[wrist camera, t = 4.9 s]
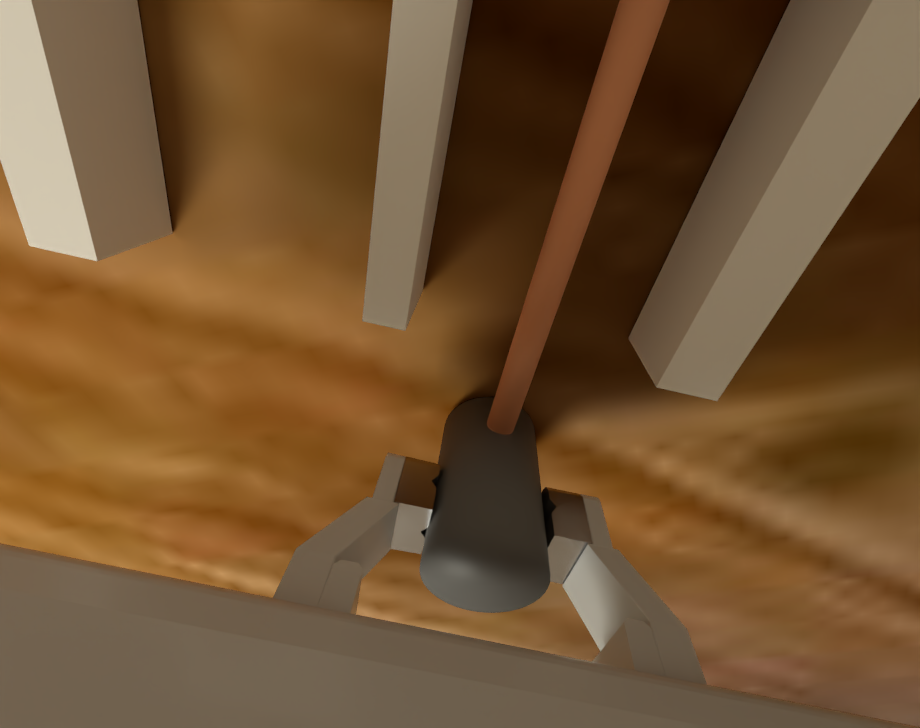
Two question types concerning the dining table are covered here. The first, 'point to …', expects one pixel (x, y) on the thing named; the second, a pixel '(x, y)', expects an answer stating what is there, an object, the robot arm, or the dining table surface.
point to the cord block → (527, 372)
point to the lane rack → (425, 146)
